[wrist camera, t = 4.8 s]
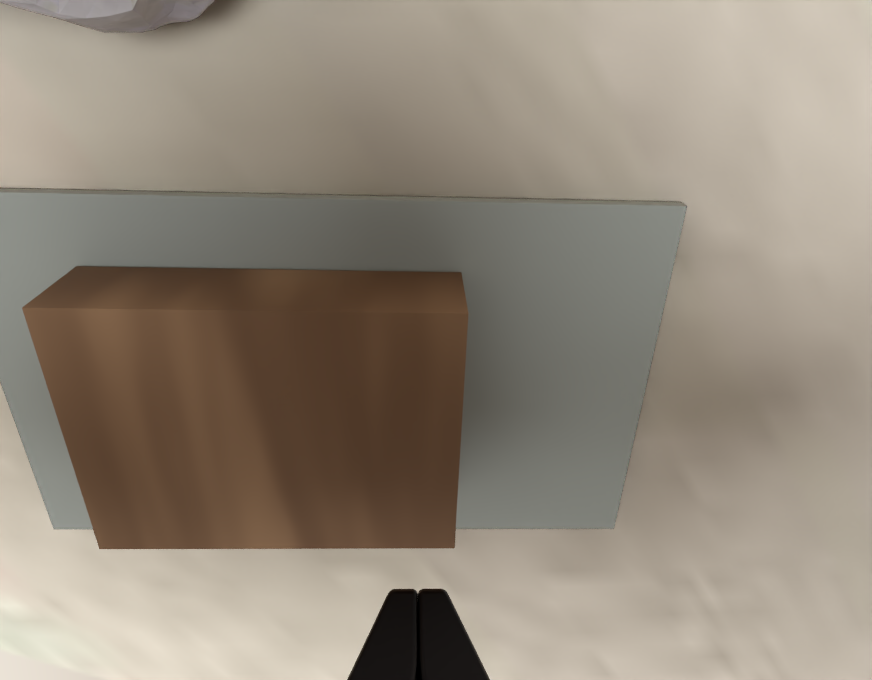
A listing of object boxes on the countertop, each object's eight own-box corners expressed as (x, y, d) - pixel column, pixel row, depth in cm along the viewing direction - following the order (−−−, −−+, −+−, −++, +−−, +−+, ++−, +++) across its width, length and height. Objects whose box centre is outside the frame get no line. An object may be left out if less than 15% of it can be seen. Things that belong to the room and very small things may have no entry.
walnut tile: (468, 313, 11) (21, 308, 11) (454, 548, 14) (99, 548, 14) (461, 271, 13) (77, 265, 13) (450, 486, 16) (136, 485, 16)
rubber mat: (681, 202, 13) (687, 206, 13) (610, 520, 17) (613, 528, 17) (-59, 186, 12) (-70, 190, 12) (59, 520, 17) (53, 529, 16)
